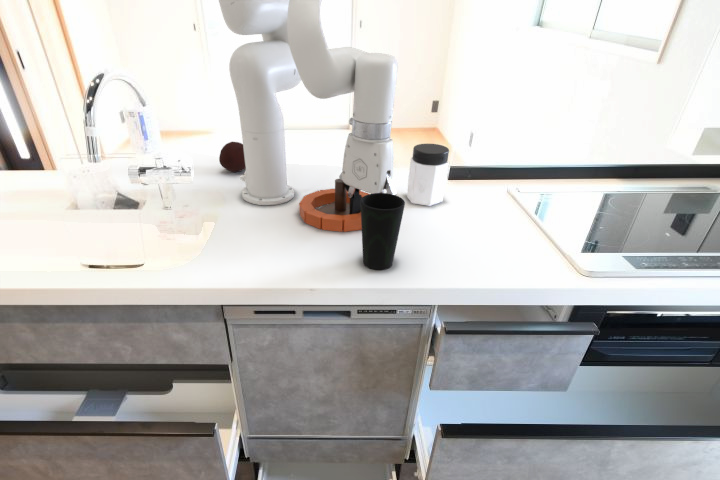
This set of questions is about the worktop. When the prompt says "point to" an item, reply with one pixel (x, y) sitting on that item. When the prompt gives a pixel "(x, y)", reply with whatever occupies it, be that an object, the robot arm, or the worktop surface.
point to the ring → (327, 220)
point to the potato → (232, 157)
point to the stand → (337, 201)
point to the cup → (380, 228)
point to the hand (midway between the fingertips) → (364, 217)
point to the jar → (428, 174)
